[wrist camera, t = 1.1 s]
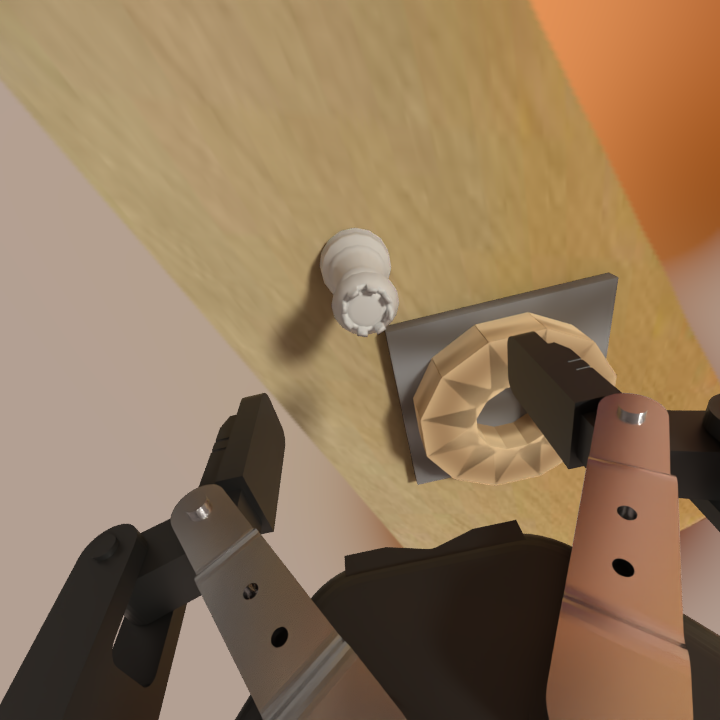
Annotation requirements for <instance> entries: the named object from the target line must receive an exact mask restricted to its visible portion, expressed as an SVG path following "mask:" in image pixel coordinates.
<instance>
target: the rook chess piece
mask: <svg viewBox="0 0 720 720" xmlns="http://www.w3.org/2000/svg"><path fill="white" fill-rule="evenodd" d="M320 269H321V273H322V277H323V280H324V283H325V285H326V286H327V287H328V288H329V290H330V291H331V292H332V293H333V300H332V310H333V314H334V317H335V319H336V320H337V321H338V323H339V324H340V325H341V326H342V327H343V328H344V329H346V330H348V331H350V332H352V333H355V334H357V336H363V337H368V334H372V333H376V332H377V335H378V334H380V333H381V332H383V331H384V330H386V327H387V326H388V325H389V324H390V323H391V321H392V320H393V319H394V317H395V316H396V313H397V310H398V306H399V299H398V293H397V290H396V289H395V287H394V286H393V284H392V283H391V281H390V280H388V279H389V275H390V270H391V263H390V257H389V253H388V249H387V248H386V246H385V244H384V243H383V241H382V240H381V238H379V237H378V236H377V235H375V234H374V233H372V232H371V231H369V230H364V229H359V228H351V229H347V230H343V231H340V232H338V233H337V234H336V235H334V236H333V237H332V238H330V239H329V240H328V242H327V243H326V245H325V247H324V248H323V250H322V252H321V259H320Z"/></svg>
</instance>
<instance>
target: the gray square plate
mask: <svg viewBox="0 0 720 720" xmlns="http://www.w3.org/2000/svg"><path fill="white" fill-rule="evenodd" d="M617 283H618V277H617V276H615V275H613V274H610V273H605V274H601V275H597V276H593V277H588V278H584V279H580V280H576V281H572V282H568V283H563V284H559V285H555V286H551V287H547V288H543V289H538V290H534V291H530V292H526V293H522V294H518V295H513V296H509V297H505V298H501V299H497V300H493V301H488V302H484V303H480V304H476V305H472V306H468V307H463V308H459V309H455V310H451V311H447V312H443V313H438V314H434V315H430V316H426V317H422V318H418V319H413V320H409V321H405V322H401V323H397V324H393V325H388V326H387V327H386V330H385V334H386V339H387V343H388V348H389V353H390V358H391V362H392V367H393V372H394V377H395V381H396V386H397V391H398V396H399V400H400V405H401V410H402V415H403V419H404V424H405V429H406V434H407V438H408V443H409V448H410V453H411V457H412V462H413V467H414V472H415V476H416V480H417V484H418V485H419V484H423V483H428V482H432V481H437V480H441V479H446V478H450V477H452V478H454V479H455V480H462V481H468V482H474V483H481V484H487V485H493V486H496V485H501V484H505V483H510V482H514V481H519V480H524V479H528V478H533V477H537V476H541V475H542V474H544V473H546V472H547V471H549V470H551V469H552V468H554V467H556V466H557V465H559V464H561V463H562V462H563V461H562V460H561V458H560V457H559V456H558V454H557V453H556V451H555V450H554V449H553V447H552V446H551V445H550V443H549V442H548V441H547V439H546V438H545V436H544V435H543V434H542V432H541V431H540V430H539V428H538V427H537V426H536V424H535V423H534V422H533V420H532V419H531V417H530V416H529V415H528V413H527V412H526V411H525V409H524V408H523V407H522V405H521V404H520V402H519V401H518V400H517V398H516V397H515V396H514V394H513V392H512V390H511V388H510V385H509V380H508V354H507V341H508V338H509V337H510V336H514V335H518V334H523V333H527V332H531V331H534V332H536V333H537V334H538V335H539V336H540V337H541V338H543V339H544V340H545V341H546V342H547V343H553V342H555V343H558V344H560V345H563V346H565V347H568V348H570V349H571V350H573V351H574V352H575V353H576V354H577V355H578V356H580V357H581V360H584V361H585V362H587V363H588V364H589V365H590V368H594V369H595V370H596V371H597V372H598V373H599V374H601V375H602V376H603V377H604V378H605V379H606V380H608V381H609V382H610V383H611V384H612V385H613V386H614V387H615V383H616V377H617V376H616V373H615V372H614V370H613V369H612V367H611V366H610V364H609V363H608V361H607V360H606V356H607V349H608V343H609V336H610V329H611V323H612V316H613V310H614V303H615V296H616V290H617Z"/></svg>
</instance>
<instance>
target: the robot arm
mask: <svg viewBox="0 0 720 720" xmlns="http://www.w3.org/2000/svg"><path fill="white" fill-rule="evenodd" d="M507 354H508V380H509V385H510V388H511V390H512V392H513V394H514V396H515V397H516V398H517V400H518V401H519V402H520V404H521V405H522V407H523V408H524V409H525V411H526V412H527V413H528V415H529V416H530V417H531V419H532V420H533V422H534V423H535V424H536V426H537V427H538V428H539V430H540V431H541V432H542V434H543V435H544V436H545V438H546V439H547V441H548V442H549V443H550V445H551V446H552V447H553V449H554V450H555V451H556V453H557V454H558V456H559V457H560V458H561V460H562V461H563V462H564V464H565V465H566V466H567V468H568V469H572V468H577V467H581V466H584V467H585V468H586V473H585V478H584V484H583V489H582V495H581V501H580V506H579V512H578V517H577V523H576V529H575V534H574V540H573V546H569V545H567V544H565V543H563V542H560V541H557V540H555V539H551V538H548V537H544V536H539V535H533V534H523V533H522V531H521V529H520V527H519V525H518V523H517V521H516V520H513V521H509V522H504V523H499V524H494V525H490V526H485V527H480V528H475V529H472V530H470V531H468V532H466V533H464V534H462V535H460V536H458V537H456V538H454V539H452V540H450V541H448V542H446V543H444V544H442V545H440V546H438V547H436V548H433V549H413V548H390V547H389V548H388V547H385V548H380V549H376V550H371V551H366V552H362V553H357V554H352V555H347V556H345V571H343V572H342V573H340V574H338V575H336V576H335V577H334V578H332V579H330V580H329V581H328V582H327V583H326V584H324V585H323V586H322V587H321V588H320V589H319V590H318V591H317V592H316V593H315V594H314V595H313V597H312V598H310V597H309V596H308V594H307V593H306V592H305V591H304V589H303V588H302V587H301V585H300V584H299V583H298V582H297V580H296V579H295V578H294V576H293V575H292V574H291V573H290V571H289V570H288V569H287V567H286V566H285V565H284V564H283V562H282V561H281V560H280V559H279V557H278V556H277V555H276V553H275V552H274V551H273V550H272V548H271V547H270V546H269V544H268V543H267V542H266V540H265V539H264V538H263V537H262V536H261V534H264V533H269V532H274V526H275V518H276V510H277V503H278V495H279V488H280V480H281V473H282V465H283V457H284V450H285V437H284V432H283V429H282V426H281V424H280V421H279V419H278V417H277V414H276V412H275V410H274V408H273V405H272V403H271V401H270V399H269V397H268V395H267V394H266V393H262V394H258V395H254V396H249V397H245V398H242V400H241V403H240V406H239V409H238V412H237V415H233V416H230V417H229V418H228V419H227V421H226V422H225V423H224V424H223V425H222V427H221V428H220V430H219V433H218V435H217V438H216V443H215V444H214V446H213V449H212V453H211V455H210V458H209V460H208V463H207V466H206V468H205V471H204V474H203V477H202V479H201V482H200V485H199V487H198V488H196V489H194V490H193V491H191V492H189V493H188V494H187V495H185V496H184V497H183V498H182V499H181V500H180V501H179V502H178V504H177V505H176V506H175V508H174V510H173V512H172V514H171V518H170V519H169V520H167V521H165V522H163V523H161V524H158V525H156V526H155V527H152V528H150V529H148V530H146V531H144V532H142V533H140V532H139V531H138V530H137V529H136V528H135V527H134V526H133V525H131V524H121V525H117V526H114V527H112V528H110V529H108V530H106V531H105V532H103V533H102V534H100V535H99V536H97V537H96V538H95V539H94V540H93V541H92V542H91V543H90V544H89V545H88V546H87V547H86V548H85V549H84V551H83V552H82V553H81V555H80V557H79V558H78V560H77V562H76V564H75V566H74V568H73V570H72V571H71V573H70V575H69V577H68V579H67V581H66V583H65V585H64V586H63V588H62V590H61V592H60V594H59V596H58V598H57V599H56V601H55V603H54V605H53V607H52V609H51V611H50V613H49V614H48V617H47V618H46V620H45V622H44V624H43V626H42V627H41V629H40V631H39V633H38V635H37V637H36V639H35V641H34V643H33V644H32V646H31V648H30V650H29V652H28V654H27V655H26V657H25V659H24V661H23V663H22V665H21V667H20V668H19V670H18V672H17V674H16V676H15V678H14V680H13V682H12V683H11V685H10V687H9V689H8V691H7V693H6V695H5V697H4V698H3V700H2V702H1V704H0V720H158V719H159V715H160V711H161V707H162V703H163V699H164V695H165V691H166V686H167V682H168V678H169V674H170V670H171V666H172V662H173V658H174V654H175V650H176V646H177V642H178V638H179V634H180V630H181V626H182V621H183V617H184V613H185V609H186V605H187V603H188V602H190V601H191V600H193V599H195V598H197V597H199V596H201V595H202V597H203V599H204V601H205V603H206V605H207V607H208V609H209V611H210V613H211V615H212V617H213V619H214V621H215V623H216V625H217V627H218V629H219V631H220V633H221V635H222V637H223V639H224V641H225V643H226V645H227V647H228V650H229V652H230V654H231V656H232V657H233V660H234V662H235V664H236V665H237V668H238V669H239V671H240V674H241V676H242V678H243V680H244V682H245V684H246V686H247V688H248V690H249V692H250V696H249V698H248V699H247V701H246V703H245V704H244V706H243V707H242V709H241V711H240V712H239V714H238V716H237V717H236V719H235V720H720V636H719V635H718V634H716V633H714V632H713V631H711V630H709V629H708V628H706V627H704V626H703V625H701V624H700V623H698V622H696V621H695V620H693V619H691V618H690V617H688V616H686V615H685V614H683V606H682V581H681V556H680V530H679V505H678V498H686V499H690V500H691V501H692V502H693V503H694V505H695V506H696V507H697V508H698V509H699V510H700V511H701V512H702V513H703V514H704V515H705V516H706V518H707V519H708V520H709V521H710V522H711V523H712V524H713V525H714V526H715V527H716V528H717V529H718V531H719V532H720V394H718V395H715V396H713V397H712V398H711V399H710V400H709V403H708V406H707V409H706V411H671V410H666V409H665V408H664V407H663V406H662V405H661V404H660V403H658V402H656V401H655V400H653V399H651V398H648V397H645V396H642V395H637V394H631V393H621V392H620V391H619V390H618V389H617V388H616V387H614V386H613V385H612V384H611V383H610V382H609V381H608V380H606V379H605V378H604V377H603V376H602V375H601V374H599V373H598V372H597V371H596V370H595V369H594V368H590V365H589V364H588V363H587V362H585V361H584V360H581V357H580V356H578V355H577V354H576V353H575V352H574V351H573V350H571V349H570V348H568V347H565V346H563V345H560V344H558V343H555V342H553V343H547V342H546V341H545V340H544V339H543V338H541V337H540V336H539V335H538V334H537V333H536V332H534V331H531V332H527V333H523V334H518V335H514V336H510V337H509V338H508V341H507ZM123 615H124V616H125V617H124V620H123V622H122V625H121V628H120V630H119V633H118V636H117V638H116V641H115V644H114V646H113V643H114V639H115V637H116V634H117V631H118V629H119V626H120V623H121V621H122V618H123ZM112 648H113V649H112Z"/></svg>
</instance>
